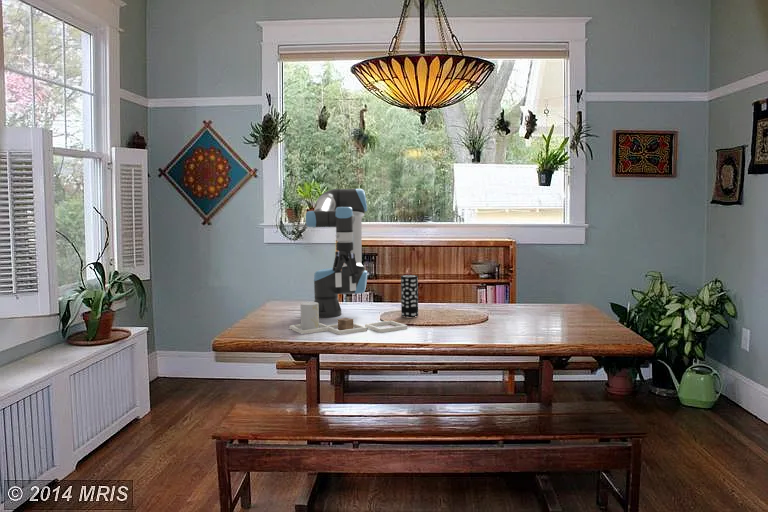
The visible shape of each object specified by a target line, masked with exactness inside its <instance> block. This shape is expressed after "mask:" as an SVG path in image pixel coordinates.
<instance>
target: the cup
mask: <svg viewBox="0 0 768 512" xmlns="http://www.w3.org/2000/svg"><path fill="white" fill-rule="evenodd" d="M299 306H300V324H301V328H300V329H302V330H309V329H316V328H320V327H319V323H320V317H319V304H318V303H317V302H314V301H304V302H301V303H300V305H299Z"/></svg>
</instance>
